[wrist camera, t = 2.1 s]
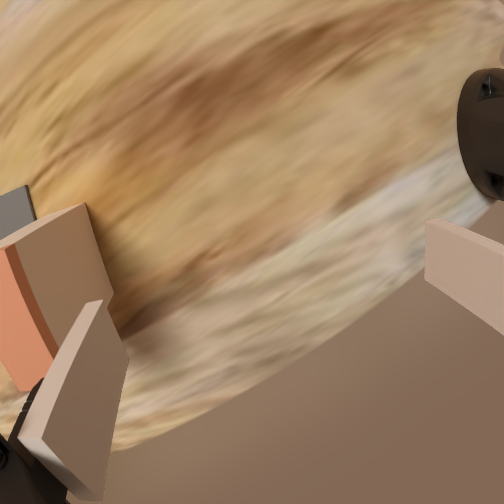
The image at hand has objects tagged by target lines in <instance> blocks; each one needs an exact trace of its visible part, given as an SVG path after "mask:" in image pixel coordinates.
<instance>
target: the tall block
mask: <svg viewBox="0 0 504 504" xmlns="http://www.w3.org/2000/svg"><path fill="white" fill-rule="evenodd" d="M113 295H114V291H113V289H112V286H111V283H110V280H109V278H108V275H107V272H106V269H105V266H104V263H103V260H102V257H101V254H100V251H99V248H98V245H97V242H96V239H95V236H94V232H93V229H92V226H91V222H90V219H89V215H88V212H87V208H86V205H85V202H84V203H81V204H78V205H75V206H72V207H69V208H66V209H63V210H60V211H57V212H54V213H51V214H48V215H45V216H43V217H41V218H39V219H38V220H36V221H34V222H32V223H30V224H28V225H26V226H25V227H23V228H21V229H19V230H17V231H16V232H14V233H12V234H10V235H9V236H7V237H5V238H3V239H2V240H0V360H1V362H2V363H3V365H4V367H5V368H6V370H7V372H8V373H9V375H10V377H11V378H12V380H13V381H14V383H15V384H16V386H17V387H18V389H19V391H31V390H32V388H33V387H34V386H35V385H36V384H37V383H38V382H39V381H40V380H41V378H45V376H46V374H47V372H48V370H49V368H50V366H51V364H52V363H53V361H54V359H55V357H56V355H57V353H58V351H59V349H60V348H61V346H62V344H63V342H64V340H65V339H66V337H67V335H68V333H69V331H70V330H71V328H72V326H73V324H74V323H75V321H76V319H77V318H78V316H79V314H80V313H81V311H82V309H83V308H84V306H85V304H86V303H89V302H93V301H98V300H102V299H104V302H105V304H106V307H108V305H109V303H110V301H111V299H112V297H113Z"/></svg>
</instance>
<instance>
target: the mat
mask: <svg viewBox="0 0 504 504" xmlns="http://www.w3.org/2000/svg"><path fill="white" fill-rule="evenodd" d="M34 221H36V218H35V214H34V211H33V207H32V203H31V200H30V196H29V192H28V188H27V185H24V186H22V187H20V188H17V189H15V190H13V191H11V192H8V193H6V194H4V195H2V196H0V240H2V239H3V238H5V237H7V236H9V235H10V234H12V233H14V232H16V231H17V230H19V229H21V228H23V227H25V226H26V225H28V224H30V223H32V222H34Z"/></svg>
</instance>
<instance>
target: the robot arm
mask: <svg viewBox="0 0 504 504" xmlns="http://www.w3.org/2000/svg"><path fill="white" fill-rule="evenodd" d="M457 124H458V137H459V144H460V149H461V153H462V157H463V160H464V163H465V166H466V169H467V171H468V173H469V175H470V177H471V179H472V181H473V182H474V184H475V185H476V186H477V188H478V189H479V190H480V191H481V192H482V193H484V194H485V195H487V196H489V197H491V198H495V199H498V200H502V201H504V69H501V68H490V69H482V70H478V71H476V72H474V73H473V74H472V75H471V76H470V77H469V78H468V79H467V81H466V82H465V84H464V86H463V89H462V91H461V95H460V99H459V105H458V117H457ZM424 280H426V281H427V282H429V283H430V284H432V285H433V286H435V287H436V288H438V289H439V290H441V291H442V292H444V293H445V294H447V295H448V296H449V297H451V298H452V299H454V300H455V301H457V302H458V303H459V304H461V305H463V306H464V307H465V308H467V309H468V310H469V311H471V312H472V313H474V314H475V315H477V316H478V317H479V318H481V319H482V320H483V321H485V322H486V323H487V324H489V325H490V326H492V327H493V328H494V329H496V330H497V331H498V332H499V333H501V334H502V335H503V336H504V245H502V244H500V243H498V242H496V241H493V240H491V239H489V238H486V237H484V236H482V235H479V234H477V233H474V232H472V231H469V230H467V229H465V228H462V227H460V226H457V225H455V224H452V223H450V222H447V221H445V220H442V219H439V218H436V219H432V220H428V221H425V275H424ZM128 362H129V357H128V354H127V352H126V350H125V348H124V346H123V344H122V342H121V339H120V337H119V335H118V333H117V330H116V328H115V326H114V323H113V321H112V319H111V316H110V314H109V312H108V309H107V307H106V304H105V302H104V299H102V300H98V301H93V302H89V303H86V304H85V306H84V308H83V309H82V311H81V313H80V314H79V316H78V318H77V319H76V321H75V323H74V324H73V326H72V328H71V330H70V331H69V333H68V335H67V337H66V339H65V340H64V342H63V344H62V346H61V348H60V349H59V351H58V353H57V355H56V357H55V359H54V361H53V363H52V364H51V366H50V368H49V370H48V372H47V374H46V376H45V378H41V380H40V381H39V382H38V383H37V384H36V385H35V386H34V387H33V388H32V390H31V392H30V394H29V396H28V398H27V400H26V401H27V402H25V404H24V406H23V408H22V412H20V414H19V416H18V419H17V421H16V423H15V425H14V427H13V430H12V432H11V434H10V436H9V439H8V441H6V440H5V438H4V437H3V436H2V435H1V434H0V504H70V503H69V502H68V501H67V500H66V495H67V490H69V491H70V492H71V493H72V494H73V495H74V496H75V497H77V498H78V499H79V500H86V501H87V500H88V501H103V497H104V489H105V482H106V475H107V468H108V462H109V456H110V449H111V444H112V438H113V432H114V427H115V422H116V417H117V412H118V407H119V402H120V397H121V393H122V388H123V383H124V379H125V375H126V370H127V366H128Z"/></svg>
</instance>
